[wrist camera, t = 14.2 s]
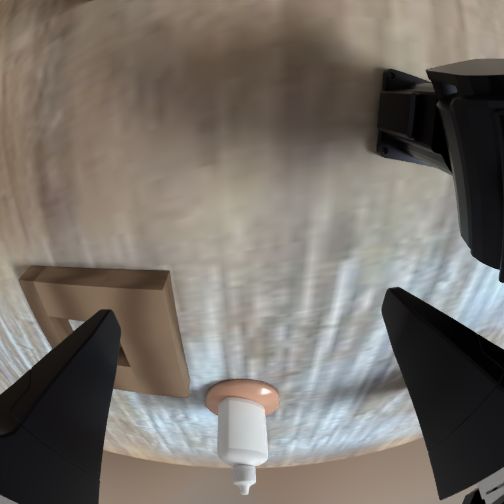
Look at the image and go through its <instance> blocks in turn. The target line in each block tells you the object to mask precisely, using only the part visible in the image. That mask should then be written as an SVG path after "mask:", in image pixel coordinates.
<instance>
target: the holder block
mask: <svg viewBox="0 0 504 504" xmlns="http://www.w3.org/2000/svg"><path fill="white" fill-rule="evenodd" d="M19 282H20V285H21V287H22V289H23V292H24V294H25V296H26V299H27V301H28V303H29V305H30V307H31V309H32V311H33V313H34V315H35V317H36V319H37V321H38V323H39V325H40V327H41V329H42V331H43V333H44V334H45V336H46V338H47V340H48V342H49V343H50V345H51V347H52V349H54V348H55V347H56V346H57V345H58V344H59V343H60V342H62V341H63V340H64V339H65V338H66V337H68V336H69V335H70V334H71V333H72V332H73V330H72V328H71V326H70V324H69V321H68V319H72V320H79V321H87V320H88V319H89V318H90V317H92V316H93V315H94V314H95V313H97V312H98V311H99V310H101V309H111V310H113V312H114V314H115V316H116V318H117V320H118V323H119V325H120V327H121V339H120V343H121V345H122V347H119V355H118V363H117V371H116V377H115V382H114V386H113V389H119V390H125V391H131V392H138V393H146V394H154V395H162V396H172V397H184V398H188V393H189V385H190V377H189V373H188V368H187V364H186V359H185V355H184V350H183V345H182V340H181V335H180V330H179V325H178V319H177V314H176V308H175V302H174V296H173V290H172V284H171V277H170V271H151V270H119V269H92V268H69V267H49V266H31V267H30V268H29V269H28V270H27V271H26V272H25V273H24V274H23V275H22V277H21V278H20V279H19Z"/></svg>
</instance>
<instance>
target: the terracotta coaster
mask: <svg viewBox="0 0 504 504" xmlns="http://www.w3.org/2000/svg"><path fill="white" fill-rule="evenodd" d="M227 397H240V398H246V399H250V400H253V401H255V402H257V403H259V404H261V405H262V406H263V407H264V409H265V416H266V415H269V414H271V413H272V412H274V411H275V410H276V409H277V408H278V406H279V404H280V400H279V393H278V391H277V390H276V388H274V387H273V386H272V385H270V384H268V383H265V382H262V381H257V380H250V379H236V380H228V381H224V382H221V383H218V384H216V385H214V386H212V387H211V388H210V389H209V390H208V391H207V394H206V406H207V408H208V409H209V410H210V411H211V412H212V413H214V414H216V415H218V409H219V403H220V402H221V401H222V400H224V399H225V398H227Z"/></svg>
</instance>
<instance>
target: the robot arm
mask: <svg viewBox="0 0 504 504" xmlns="http://www.w3.org/2000/svg"><path fill="white" fill-rule="evenodd" d="M389 73H391V74H392V76H393V77H392V79H391V78H390V77H389ZM426 73H427V75H428V78H429V80H431V82H432V83H431V82H428V81H426V80H423V79H420V78H418V77H415V76H412V75H409V74H406V73H403V72H400V71H397V70H394V69H387V70H385V71H384V73H383V89H382V93H380V102H379V113H378V124H377V127H378V129H379V134H378V142H377V153H378V154H379V155H380V156H382V157H384V158H390V159H396V160H401V161H407V162H412V163H417V164H422V165H426V166H431V167H435V168H438V169H440V170H442V171H444V172H446V173H448V174H450V175H452V176H453V179H454V185H455V192H456V200H457V209H458V220H459V228H460V233H461V236H462V238H463V239H464V241H465V242H466V244H467V245H468V247H469V248H470V249H471V255H472V256H473V257H475V258H476V259H477V260H479V261H480V262H482V263H484V264H486V265H488V266H490V267H492V268H495V269H498V270H500V273H499V281H500V282H501V283H504V59H473V60H468V61H463V62H458V63H453V64H448V65H444V66H439V67H435V68H431V69H427V70H426ZM384 147H385V148H386V151H385V152H384V153H383V152H382V149H383V148H384ZM381 310H382V316H383V319H384V322H385V325H386V329H387V332H388V335H389V339H390V342H391V346H392V349H393V352H394V354H395V357H396V359H397V362H398V365H399V367H400V370H401V372H402V375H403V378H404V380H405V383H406V386H407V388H408V391H409V394H410V397H411V400H412V402H413V405H414V408H415V411H416V414H417V417H418V420H419V424H420V427H421V430H422V433H423V436H424V440H425V443H426V447H427V450H428V452H429V453H428V454H429V458H430V462H431V466H432V469H433V474H434V478H435V482H436V486H437V491H438V495H439V499H440V500H443V499H445V498H447V497H450V496H452V495H454V494H456V493H458V492H460V491H463V490H464V489H467V488H468V487H470V486H472V485H474V484H476V483H477V485H478V488H476V489H475V490H474V491H472V492H471V493H469V494H467V495H466V496H465V499H464V501H463V503H462V504H504V349H502V348H500V347H498V346H497V345H495V344H493V343H492V342H490V341H488V340H487V339H485V338H483V337H482V336H480V335H479V334H477V333H475V332H474V331H472V330H471V329H469V328H467V327H466V326H464V325H463V324H461V323H459V322H458V321H456V320H454V319H453V318H451V317H449V316H448V315H446V314H444V313H443V312H441V311H439V310H438V309H436V308H434V307H433V306H431V305H429V304H428V303H426V302H424V301H422V300H421V299H419V298H417V297H415V296H414V295H412V294H410V293H409V292H407V291H405V290H403V289H402V288H400V287H393V288H389V289H387V291H386V294H385V297H384V301H383V304H382V309H381ZM120 339H121V327H120V325H119V323H118V320H117V318H116V316H115V314H114V312H113V310H111V309H101V310H99V311H98V312H97V313H95V314H94V315H93V316H92V317H90V318H89V319H88V320H87V321H86V322H84V323H83V324H82V325H81V326H79V327H78V328H77V329H76V330H75V331H73V332H72V333H71V334H70V335H69V336H68V337H66V338H65V339H64V340H63V341H62V342H60V343H59V344H58V345H57V346H56V347H55V348H54V349H52V350H51V351H50V352H49V353H48V354H47V355H45V356H44V357H43V358H42V359H41V360H40V361H39V362H38V363H36V364H35V365H34V366H33V367H32V368H31V369H30V370H29V371H27V372H26V373H25V374H24V375H23V376H22V377H21V378H20V379H19V380H17V381H16V382H15V383H14V384H13V385H12V386H10V387H9V388H8V389H7V390H5V391H4V392H3V393H2V394H0V504H98V500H99V486H100V480H99V479H100V472H101V462H102V454H103V446H104V438H105V431H106V425H107V419H108V413H109V407H110V402H111V396H112V391H113V386H114V382H115V377H116V371H117V363H118V355H119V347H120Z"/></svg>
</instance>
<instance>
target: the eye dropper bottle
mask: <svg viewBox="0 0 504 504" xmlns="http://www.w3.org/2000/svg"><path fill="white" fill-rule="evenodd" d="M217 450H218V456H219V458H220V459H221V460H222V461H224V462H226V463H227V464H229V465H231V466H233V467H232V483H233V484H235V485H237V486H238V487H239V488H240V492H241V495H248V491H249V487H250V486H251V485H253V484H255V483H256V475H255V467H254V466H258V465H261V464H263V463H264V462H266V460H267V459H268V446H267V432H266V419H265V409H264V407H263V406H262V405H261V404H259V403H257V402H255V401H253V400H250V399H246V398H240V397H227V398H225V399H224V400H222V401H221V402H220V403H219V409H218V442H217Z"/></svg>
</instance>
